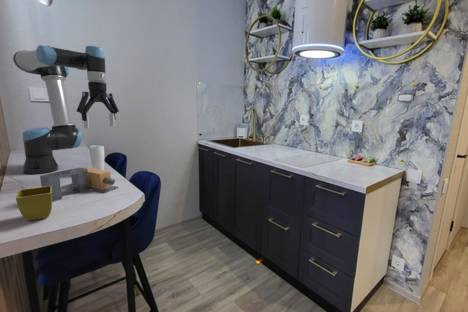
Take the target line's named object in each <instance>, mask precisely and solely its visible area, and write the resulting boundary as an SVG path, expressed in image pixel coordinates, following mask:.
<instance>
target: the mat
mask: <svg viewBox="0 0 468 312" xmlns="http://www.w3.org/2000/svg"><path fill="white" fill-rule="evenodd" d="M70 185H71V186H72V183H70ZM116 188H117V189H119V186H115V185H111V187H108V188H105V189H102V190H101V189H96V188H92V187H89V191H90V190H91V191H94V192H99V193H104V194H105V192H106V193H108V191H109V192H111V191H113V189H114V190H116ZM110 190H111V191H110Z"/></svg>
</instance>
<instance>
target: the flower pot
mask: <svg viewBox="0 0 468 312" xmlns="http://www.w3.org/2000/svg"><path fill="white" fill-rule="evenodd" d="M15 200H16V201H15V202H16V203H17V204H16V205H17V206H18V209H19V212H20V214H21V215H22V217H23V218H24V219H26V220H27V221H28V222H30V221H31V222H32V221H36V220H41V219H46V218H48V217H50V215H51V213H52V206H53V202H52V186H45V187H41V186H40V187H32V188H26V189H19V190H17V194H16V196H15Z"/></svg>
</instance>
